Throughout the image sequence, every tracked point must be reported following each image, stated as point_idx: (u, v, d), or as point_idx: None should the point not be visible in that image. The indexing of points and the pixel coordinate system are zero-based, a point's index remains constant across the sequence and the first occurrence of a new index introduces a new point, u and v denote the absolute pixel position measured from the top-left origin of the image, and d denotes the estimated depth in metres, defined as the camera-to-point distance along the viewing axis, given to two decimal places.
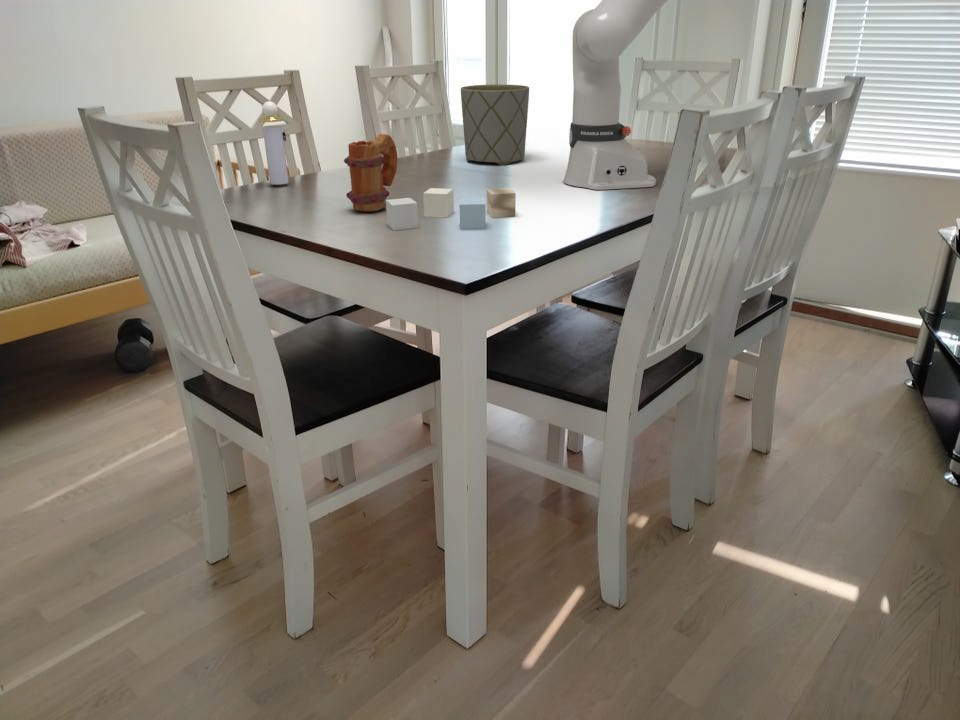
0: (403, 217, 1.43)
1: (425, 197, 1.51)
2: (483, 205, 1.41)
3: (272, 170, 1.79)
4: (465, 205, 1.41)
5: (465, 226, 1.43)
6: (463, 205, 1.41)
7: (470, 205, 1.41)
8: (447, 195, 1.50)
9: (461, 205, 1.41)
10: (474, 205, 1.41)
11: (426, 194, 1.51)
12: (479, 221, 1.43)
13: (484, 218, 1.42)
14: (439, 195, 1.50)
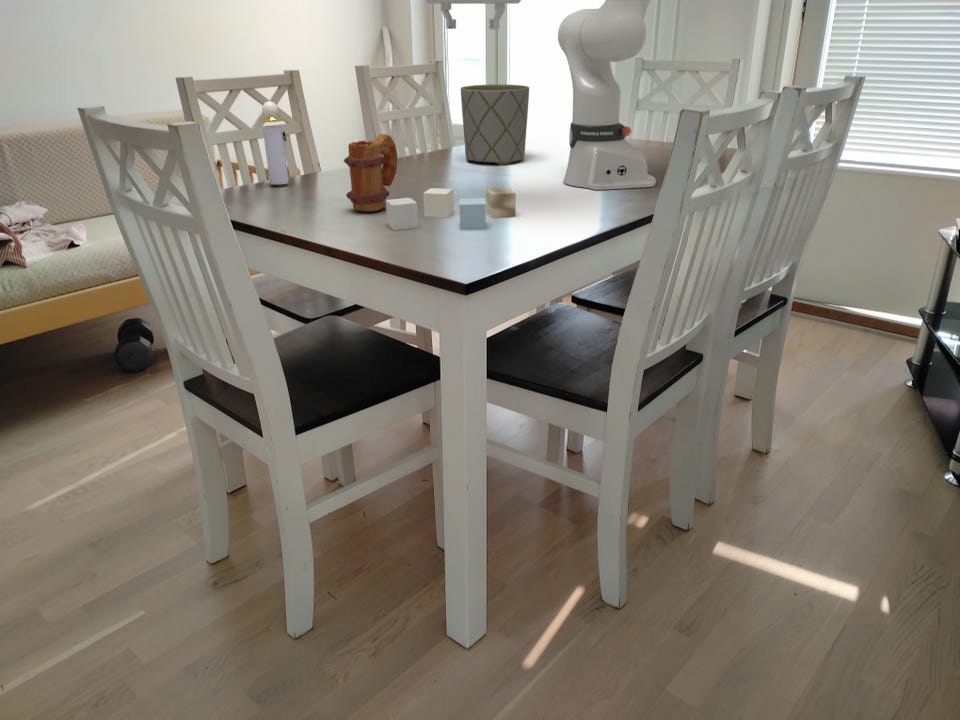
0: (403, 217, 1.43)
1: (425, 197, 1.51)
2: (483, 205, 1.41)
3: (272, 170, 1.79)
4: (465, 205, 1.41)
5: (465, 226, 1.43)
6: (463, 205, 1.41)
7: (470, 205, 1.41)
8: (447, 195, 1.50)
9: (461, 205, 1.41)
10: (474, 205, 1.41)
11: (426, 194, 1.51)
12: (479, 221, 1.43)
13: (484, 218, 1.42)
14: (439, 195, 1.50)
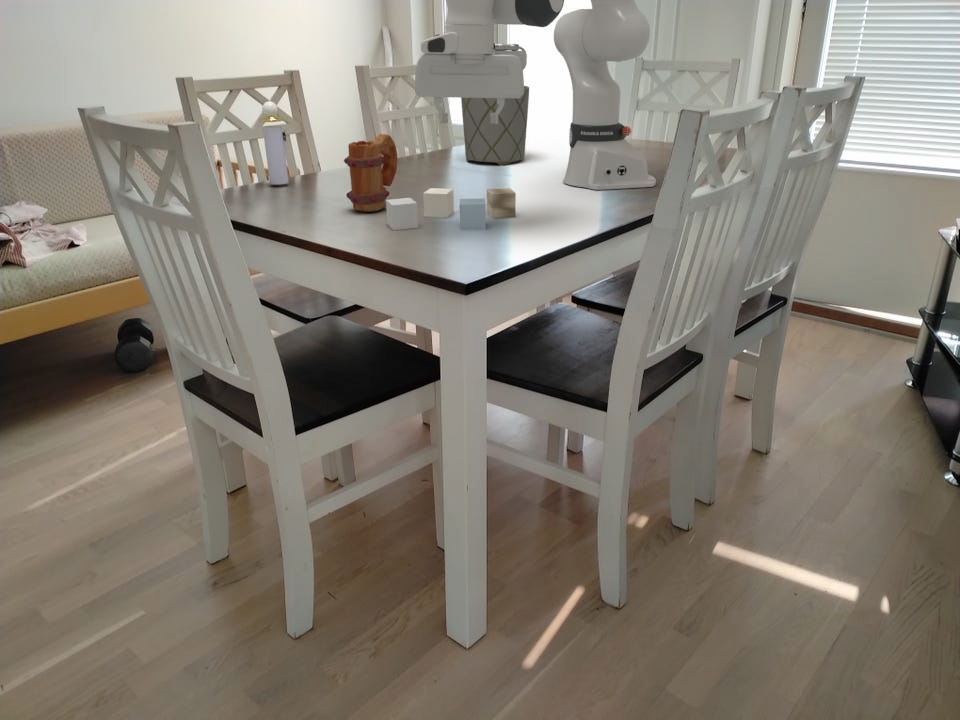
0: (403, 217, 1.43)
1: (425, 197, 1.51)
2: (483, 205, 1.41)
3: (272, 170, 1.79)
4: (465, 205, 1.41)
5: (465, 226, 1.43)
6: (463, 205, 1.41)
7: (470, 205, 1.41)
8: (447, 195, 1.50)
9: (461, 205, 1.41)
10: (474, 205, 1.41)
11: (426, 194, 1.51)
12: (479, 221, 1.43)
13: (484, 218, 1.42)
14: (439, 195, 1.50)
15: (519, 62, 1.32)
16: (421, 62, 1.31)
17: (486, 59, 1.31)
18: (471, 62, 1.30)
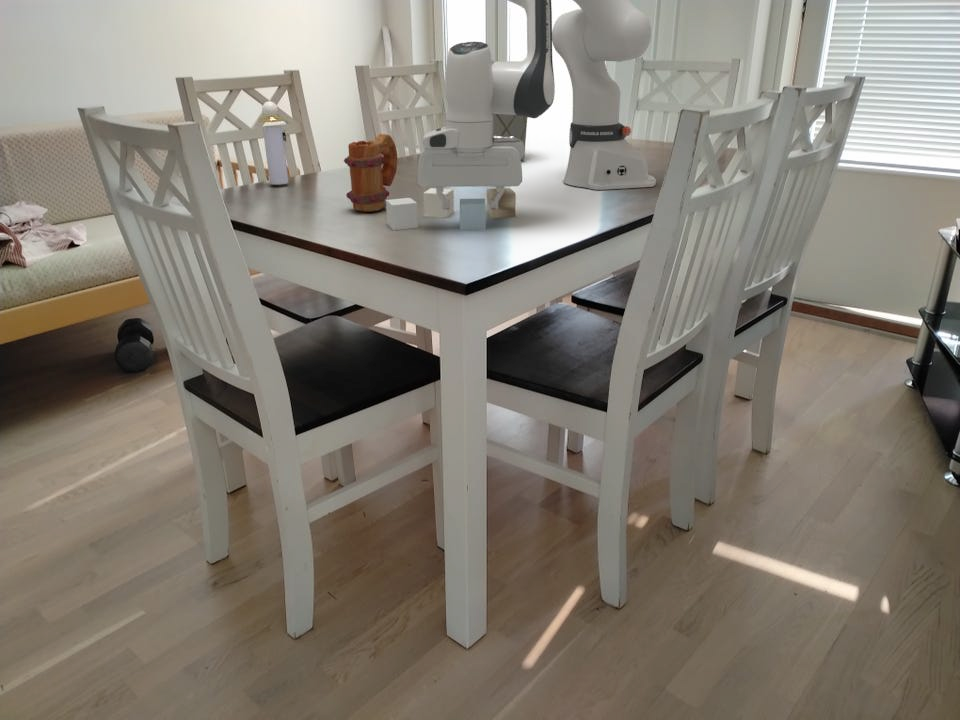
0: (403, 217, 1.43)
1: (425, 197, 1.51)
2: (483, 205, 1.41)
3: (272, 170, 1.79)
4: (465, 205, 1.41)
5: (465, 226, 1.43)
6: (463, 205, 1.41)
7: (470, 205, 1.41)
8: (447, 195, 1.50)
9: (461, 205, 1.41)
10: (474, 205, 1.41)
11: (426, 194, 1.51)
12: (479, 221, 1.43)
13: (484, 218, 1.42)
14: None
15: (517, 153, 1.38)
16: (423, 156, 1.37)
17: (485, 151, 1.38)
18: (471, 155, 1.36)
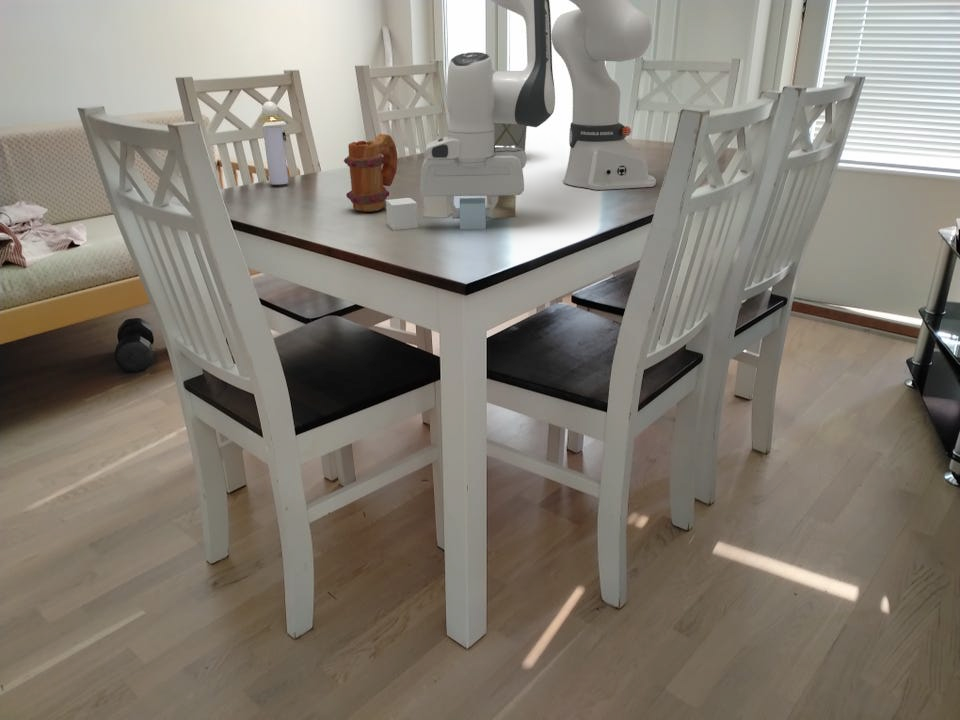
0: (403, 217, 1.43)
1: (425, 197, 1.51)
2: (483, 204, 1.41)
3: (272, 170, 1.79)
4: (465, 204, 1.41)
5: (465, 225, 1.43)
6: (463, 204, 1.41)
7: (470, 204, 1.41)
8: None
9: (461, 204, 1.41)
10: (474, 204, 1.41)
11: None
12: (479, 221, 1.42)
13: (484, 217, 1.42)
14: None
15: (519, 163, 1.39)
16: (426, 166, 1.38)
17: (487, 161, 1.38)
18: (473, 165, 1.37)
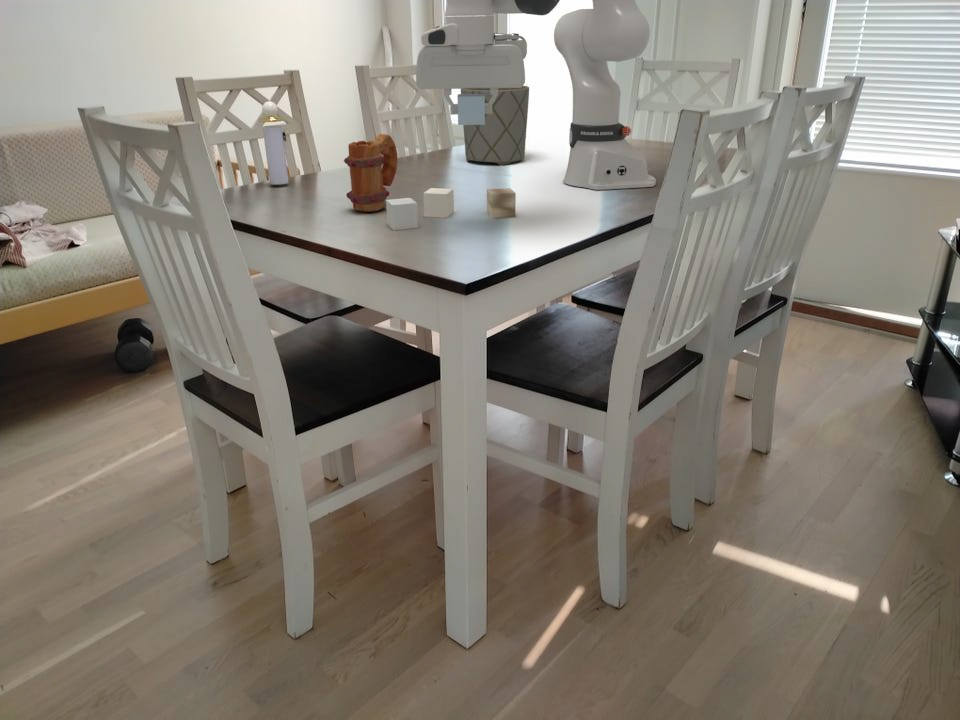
0: (403, 217, 1.43)
1: (425, 197, 1.51)
2: (482, 97, 1.35)
3: (272, 170, 1.79)
4: (463, 97, 1.35)
5: (464, 120, 1.36)
6: (461, 97, 1.35)
7: (469, 97, 1.35)
8: (447, 195, 1.50)
9: (459, 97, 1.35)
10: (473, 97, 1.35)
11: (426, 194, 1.51)
12: (478, 116, 1.36)
13: (483, 112, 1.36)
14: (439, 195, 1.50)
15: (519, 51, 1.32)
16: (422, 54, 1.31)
17: (487, 49, 1.32)
18: (472, 53, 1.31)
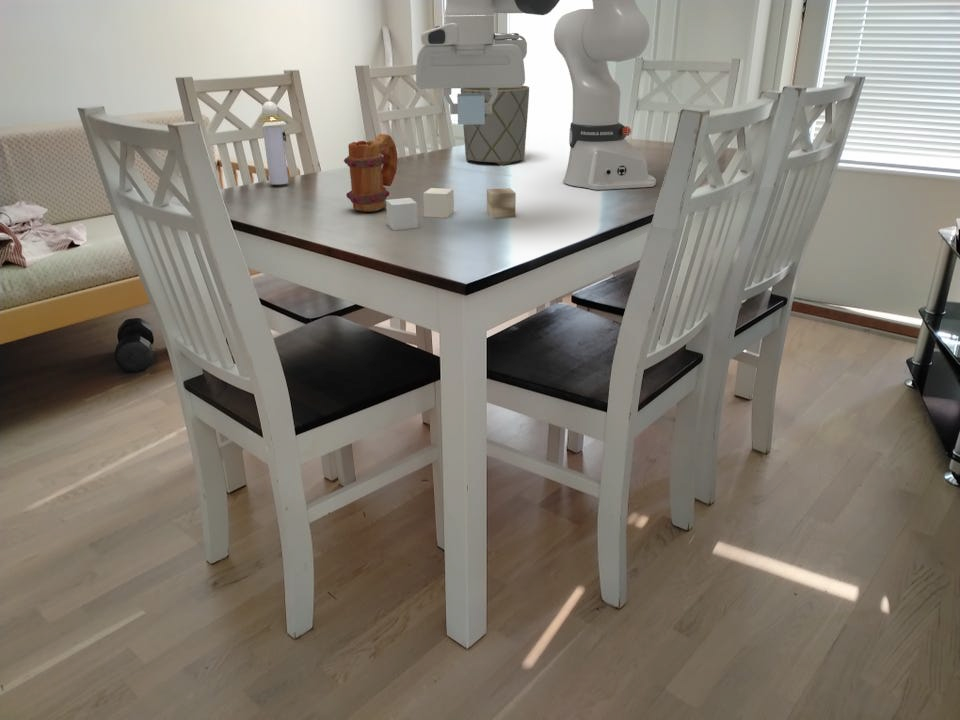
0: (403, 217, 1.43)
1: (425, 197, 1.51)
2: (482, 97, 1.35)
3: (272, 170, 1.79)
4: (463, 97, 1.35)
5: (463, 120, 1.36)
6: (461, 97, 1.35)
7: (468, 97, 1.35)
8: (447, 195, 1.50)
9: (459, 97, 1.35)
10: (473, 97, 1.35)
11: (426, 194, 1.51)
12: (478, 115, 1.36)
13: (483, 111, 1.36)
14: (439, 195, 1.50)
15: (519, 51, 1.32)
16: (422, 54, 1.31)
17: (486, 49, 1.32)
18: (472, 53, 1.31)
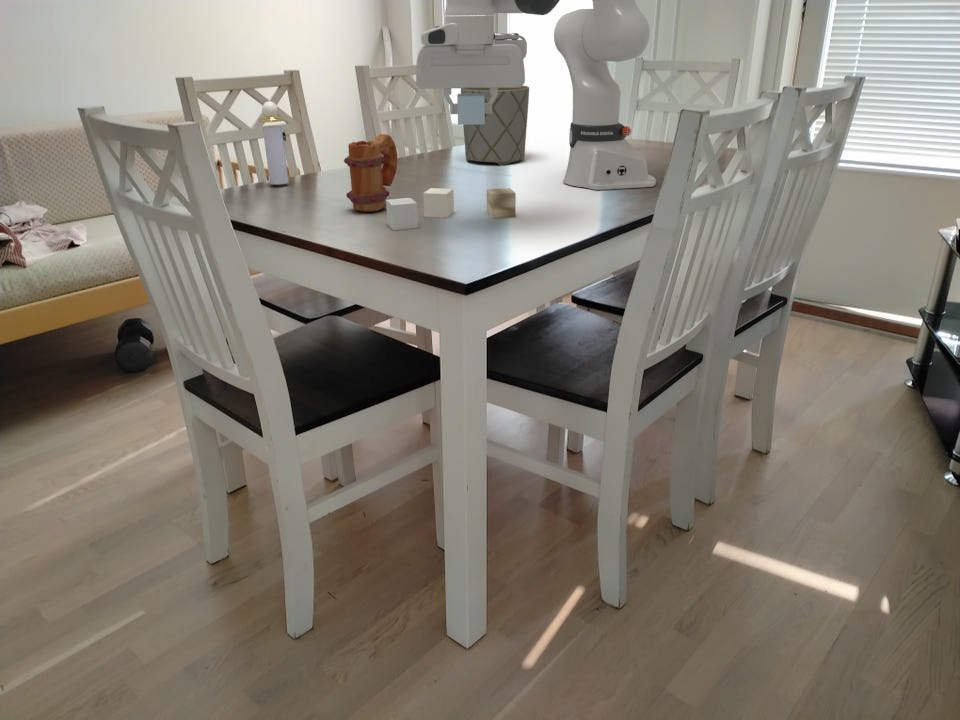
0: (403, 217, 1.43)
1: (425, 197, 1.51)
2: (482, 97, 1.35)
3: (272, 170, 1.79)
4: (463, 97, 1.35)
5: (463, 120, 1.36)
6: (461, 97, 1.35)
7: (468, 97, 1.35)
8: (447, 195, 1.50)
9: (459, 97, 1.35)
10: (473, 97, 1.35)
11: (426, 194, 1.51)
12: (478, 115, 1.36)
13: (483, 111, 1.36)
14: (439, 195, 1.50)
15: (519, 51, 1.32)
16: (422, 54, 1.31)
17: (486, 49, 1.32)
18: (472, 53, 1.31)
